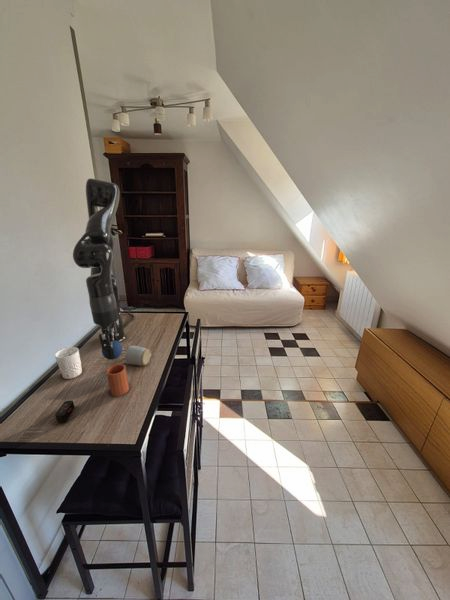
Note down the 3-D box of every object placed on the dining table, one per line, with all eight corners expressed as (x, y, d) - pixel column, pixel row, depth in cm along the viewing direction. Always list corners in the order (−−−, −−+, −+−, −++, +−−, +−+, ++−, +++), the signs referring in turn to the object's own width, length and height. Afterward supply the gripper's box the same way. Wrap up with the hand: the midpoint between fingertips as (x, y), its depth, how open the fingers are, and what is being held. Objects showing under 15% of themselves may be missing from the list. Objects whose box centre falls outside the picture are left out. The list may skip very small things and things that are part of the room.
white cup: (60, 382, 95) (53, 360, 91) (62, 371, 101) (55, 350, 98) (83, 376, 98) (78, 354, 95) (83, 365, 105) (78, 345, 101)
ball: (105, 354, 88) (102, 338, 86) (124, 351, 89) (122, 336, 87) (101, 364, 82) (98, 347, 80) (122, 361, 84) (119, 345, 81)
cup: (112, 385, 93) (108, 365, 90) (129, 383, 94) (126, 362, 91) (109, 397, 87) (104, 375, 84) (127, 394, 88) (124, 373, 85)
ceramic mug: (143, 369, 102) (141, 353, 99) (125, 367, 103) (123, 351, 101) (156, 356, 111) (154, 340, 109) (139, 353, 113) (137, 338, 111)
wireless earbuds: (77, 406, 83) (74, 398, 82) (66, 423, 76) (63, 415, 75) (62, 407, 83) (60, 399, 82) (50, 424, 76) (47, 416, 75)
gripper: (112, 314, 74) (121, 362, 79) (119, 298, 87) (127, 341, 92) (84, 317, 72) (96, 366, 78) (96, 300, 85) (105, 343, 91)
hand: (112, 352), depth 85 cm, fingers closed on ball, 6 cm apart
